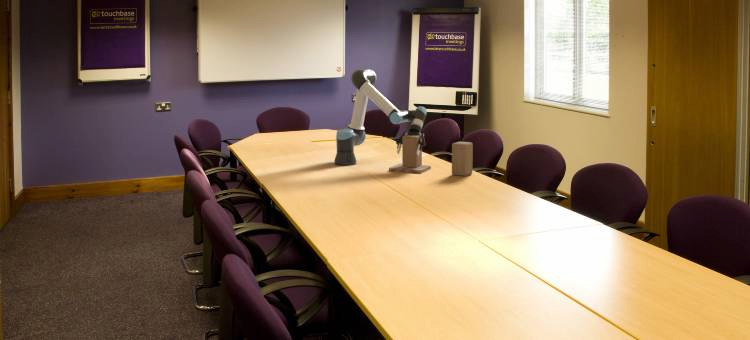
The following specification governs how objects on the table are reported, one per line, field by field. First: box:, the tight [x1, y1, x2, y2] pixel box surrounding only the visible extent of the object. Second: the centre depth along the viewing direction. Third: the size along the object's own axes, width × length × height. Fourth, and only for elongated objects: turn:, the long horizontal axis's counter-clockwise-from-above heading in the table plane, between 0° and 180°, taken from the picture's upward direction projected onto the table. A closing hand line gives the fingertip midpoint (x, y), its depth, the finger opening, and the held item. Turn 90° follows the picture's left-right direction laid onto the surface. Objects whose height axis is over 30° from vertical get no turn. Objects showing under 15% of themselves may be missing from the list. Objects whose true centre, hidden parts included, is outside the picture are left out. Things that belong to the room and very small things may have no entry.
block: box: [451, 141, 474, 177], centre depth 436 cm, size 10×10×20 cm
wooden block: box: [401, 135, 423, 168], centre depth 456 cm, size 10×10×20 cm
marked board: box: [388, 163, 432, 174], centre depth 455 cm, size 22×18×2 cm
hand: (407, 153), depth 449 cm, fingers open, 13 cm apart
